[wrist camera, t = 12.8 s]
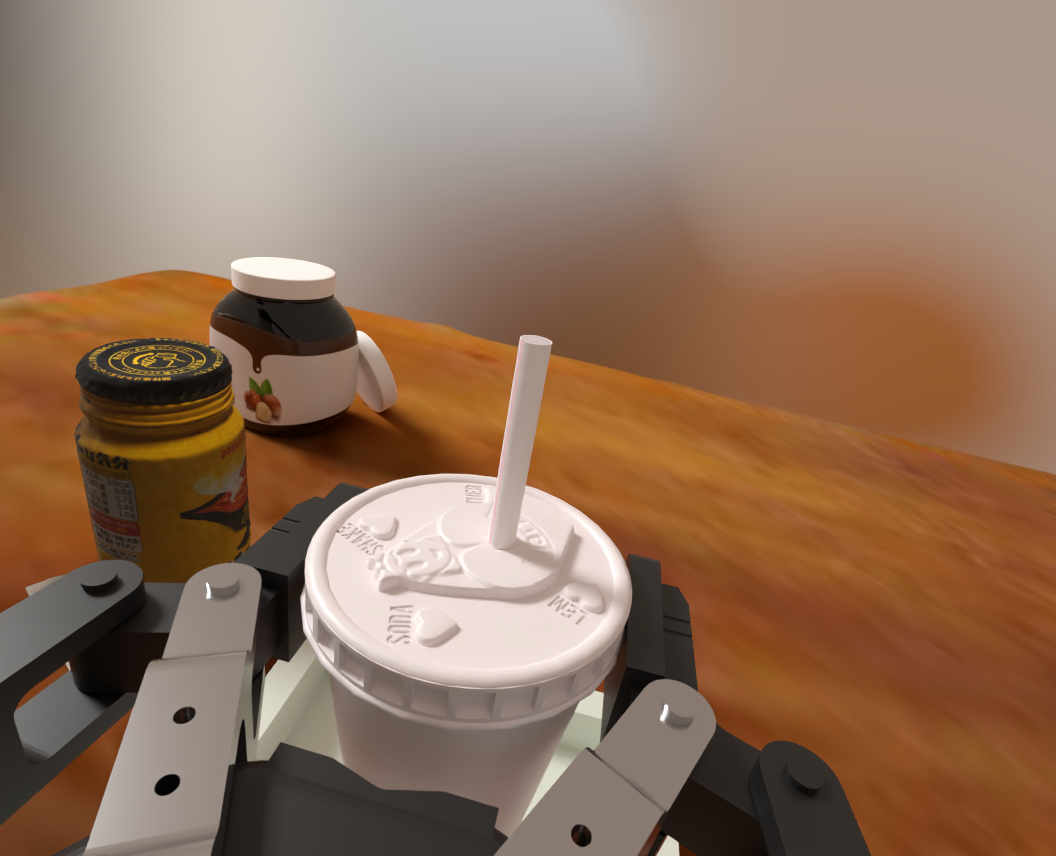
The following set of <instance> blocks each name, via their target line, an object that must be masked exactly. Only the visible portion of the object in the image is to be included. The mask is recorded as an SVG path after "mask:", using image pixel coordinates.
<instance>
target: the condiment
mask: <svg viewBox="0 0 1056 856" xmlns="http://www.w3.org/2000/svg"><path fill="white" fill-rule="evenodd" d="M75 378H76V379H77V380H78V382H79V386H80V392H81V393H80V400H79V405H80V409H81V411H82V412H83V413H84V414H85V415H84V417H83V418H82V419H81V421H80V422H79V424H78V425H77V427H76V432H75V439H76V445H77V453H78V457H79V461H80V466H81V472H82V477H83V481H84V487H85V492H86V497H87V501H88V507H89V512H90V517H91V522H92V528H93V532H94V537H95V542H96V547H97V552H98V557H99V561H105V560H124V561H129V562H132V563H134V564H136V565H138V566H139V567H140V568H141V570H142V572H143V578H144V583H187V582H188V580H189V579H190V578H191V577H192V576H194V575H195V574H196V573H198V572H200V571H201V570H203V569H206V568H208V567H211V566H214V565H218V564H223V563H234V562H235V561H236V560H237V559H238V558H239V557H240V556H241V555H242V554H244V553H245V552H246V551H247V550H248V549H249V548H250V547H251V544H250V541H251V530H250V519H249V515H250V514H249V508H248V506H249V505H248V486H247V464H246V447H245V442H246V436H245V427H244V419H243V416H242V415H241V413H240V412H239V410H238V409H237V408H236V407H235V406H234V405H233V404H234V402H235V395H234V393H233V389H232V383H231V382H232V365H231V364H230V363H229V360H228V358H227V357H226V355H224V354H223V353H222V352H220V351H219V350H218V349H216V348H215V347H214V346H209V345H206V344H203V343H199V342H196V341H189V340H179V339H171V338H150V339H130V340H122V341H118V342H113V343H108V344H105V345H103V346H100V347H98V348H95V349H93V350H92V351H91V352H89V353H87V354H86V355H85V356H84V357H83V358H82V359H81V360H80V361H79V363H78V364H77V366H76V375H75ZM65 575H67V574H65ZM65 575H61V576H57V577H53V578H50V579H48V580H45V581H43V582H40V583H37V584H34V585H31V586H28V587H25V588H26V590H27V592H28V594H29V596H31V595H33V594H34V593H36V592H38V591H39V590H41V589H43V588H45V587H46V586H48V585H50V584H51V583H53V582H55V581H56V580H58V579H60V578H61V577H63V576H65ZM66 665H67V667H68V669H69V671H70V670H71V669H70V665H69V661H68V662H67V663H66Z"/></svg>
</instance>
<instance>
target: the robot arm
mask: <svg viewBox="0 0 1056 856" xmlns="http://www.w3.org/2000/svg"><path fill="white" fill-rule="evenodd" d="M367 490H369V489H366V488H362V487H358V486H354V485H350V484H346V483H340V484H338V485H337V486H336V487H335V488H334V489H333V490H332V491H331V492H330V493H329V494H328V495H327V496H326V497H325V498H324V499H323V498H319V497H313V498H311V499H309V500H307V501H304V502H302V503H300V504H298V505H296V506H295V507H294V508H293V509H292V510H290V511H289V512H288V513H287V514H286V515H285V516H284V517H283V519H282V520H280V521H278V522H277V523H276V524H275V525H274V526H273V527H272V530H269V531H268V532H266V533H265V534H264V535H263V536H262V537H261V538H260V539H259V540H258V541H257V542H256V543H254V544H253V545H252V546H251V547H250V548H249V549H248V550H247V551H246V552H245V553H244V554H242V555H241V556H240V557H239V558H238V559H237V560H236V561H235V562H234V563H223V564H218V565H214V566H211V567H208V568H206V569H203V570H201V571H200V572H198V573H196V574H195V575H194V576H192V577H191V578H190V579H189V580H188V582H187V583H144V578H143V572H142V570H141V568H140V567H139V566H138V565H136V564H134V563H132V562H129V561H124V560H105V561H99V562H94V563H91V564H88V565H85V566H82V567H80V568H77V569H75V570H74V571H72V572H70V573H68V574H67V575H65V576H63V577H61V578H60V579H58V580H56V581H55V582H53V583H51V584H50V585H48V586H46V587H45V588H43V589H41V590H39V591H38V592H36V593H34V594H33V595H31V596H29V597H28V598H26V599H24V600H22V601H21V602H19V603H17V604H16V605H14V606H12V607H11V608H9V609H7V610H6V611H4V612H2V613H0V825H1V824H3V823H4V822H5V821H6V820H7V819H8V818H9V817H10V816H12V815H13V814H14V813H15V812H16V811H17V810H18V809H19V808H21V807H22V806H23V805H24V804H25V803H26V802H27V801H28V800H30V799H31V798H32V797H33V796H34V795H35V794H36V793H37V792H39V791H40V790H41V789H42V788H43V787H44V786H45V785H46V784H48V783H49V782H50V781H51V780H52V779H53V778H54V777H55V776H56V775H58V774H59V773H60V772H61V771H62V770H63V769H64V768H65V767H67V766H68V765H69V764H70V763H71V762H72V761H73V760H74V759H76V758H77V757H78V756H79V755H80V754H81V753H82V752H83V751H85V750H86V749H87V748H88V747H89V746H90V745H91V744H92V743H94V742H95V741H96V740H97V739H98V738H99V737H100V736H101V735H102V734H104V733H105V732H106V731H107V730H108V729H109V728H110V727H111V726H113V725H114V724H115V723H116V722H117V721H118V720H119V719H120V718H122V717H123V716H124V715H125V714H126V713H127V712H128V711H129V710H131V709H132V708H133V707H134V708H133V710H132V713H131V716H130V719H129V722H128V725H127V728H126V731H125V734H124V737H123V740H122V743H121V746H120V749H119V752H118V755H117V758H116V761H115V764H114V767H113V770H112V773H111V776H110V779H109V782H108V785H107V788H106V791H105V794H104V797H103V800H102V803H101V806H100V809H99V812H98V815H97V817H96V820H95V823H94V826H93V829H92V832H91V835H89V836H87V837H85V838H84V839H82V840H80V841H78V842H76V843H74V844H72V845H71V846H69V847H67V848H65V849H63V850H61V851H59V852H58V853H56V854H54V855H52V856H657V854H658V852H659V850H660V849H661V847H662V845H663V843H664V841H665V840H666V838H667V836H670V837H671V838H673V839H674V840H676V841H677V842H679V843H680V844H682V845H683V846H685V847H686V848H688V849H689V850H691V851H692V852H694V853H695V854H697V855H698V856H871V854H870V852H869V850H868V847H867V845H866V842H865V840H864V838H863V835H862V833H861V831H860V828H859V826H858V824H857V821H856V819H855V816H854V814H853V812H852V809H851V807H850V805H849V802H848V800H847V798H846V795H845V793H844V790H843V788H842V786H841V784H840V782H839V780H838V778H837V777H836V775H835V774H834V772H833V771H832V770H831V769H830V767H829V766H828V765H827V764H826V763H825V762H824V761H823V760H822V759H821V758H819V757H818V756H817V755H816V754H814V753H813V752H811V751H810V750H808V749H806V748H804V747H803V746H800V745H798V744H795V743H792V742H788V741H774V742H770V743H769V744H767V745H766V746H765V747H764V748H763V749H762V751H759V750H758V749H756V748H754V747H752V746H750V745H749V744H747V743H745V742H743V741H742V740H740V739H738V738H736V737H735V736H733V735H731V734H730V733H728V732H726V731H725V730H724V729H723V728H721V727H720V726H719V725H718V724H717V723H716V719H715V715H714V713H713V710H712V708H711V707H710V705H709V703H708V702H707V701H706V700H705V698H704V697H703V696H702V695H701V694H699V693H698V687H697V678H696V669H695V659H694V650H693V641H692V639H691V638H692V632H691V625H690V613H689V605H688V603H687V601H686V600H685V598H684V596H683V595H682V593H681V592H680V590H679V588H677V587H673V586H670V585H666V584H662V583H661V566H660V561H658V560H654V559H650V558H646V557H642V556H638V555H634V554H629V555H628V557H627V560H626V566H627V568H628V571H629V575H630V579H631V585H632V603H631V608H630V613H629V616H628V619H627V621H626V624H625V634H624V641H623V644H622V647H621V650H620V653H619V655H618V658H617V661H616V664H615V667H614V668H613V669H612V670H611V671H610V673H609V674H608V675H607V676H606V677H605V684H604V697H603V709H602V722H601V735H600V744H599V745H598V746H597V747H596V748H595V749H594V750H592V749H590V748H589V747H587V748H585V749H584V750H582V751H581V752H580V753H579V754H578V756H577V757H576V758H575V759H574V760H573V761H572V763H571V764H570V765H569V766H568V767H567V769H566V770H565V771H564V772H563V773H562V775H561V776H560V777H559V778H558V779H557V781H556V782H555V783H554V784H553V785H552V787H551V788H550V789H549V790H548V791H547V793H546V794H545V795H544V796H543V797H542V799H541V800H540V801H539V802H538V803H537V804H536V806H535V807H534V808H533V809H532V810H531V812H530V813H529V814H528V815H527V816H526V818H525V819H524V820H523V821H522V822H521V824H520V825H519V826H518V827H517V828H516V830H515V831H514V832H513V833H512V834H511V836H510V837H507V836H506V835H505V834H503V833H502V832H500V831H499V830H497V829H496V828H495V824H496V819H497V815H498V811H499V808H497V807H494V806H490V805H487V804H484V803H481V802H477V801H474V800H471V799H467V798H464V797H461V796H457V795H454V794H451V793H447V792H444V791H415V790H386V789H381V788H378V787H377V786H375V785H373V784H372V783H370V782H369V781H367V780H366V779H364V778H363V777H361V776H360V775H358V774H357V773H355V772H354V771H352V770H350V769H349V768H347V767H346V766H344V765H343V764H341V763H340V762H338V761H337V760H335V759H334V758H332V757H328V756H325V755H322V754H319V753H315V752H312V751H309V750H305V749H302V748H299V747H295V746H292V745H289V744H285V743H282V742H280V743H279V745H278V747H277V748H276V750H275V751H274V753H273V754H272V756H271V757H270V759H269V760H258V761H256V755H257V745H258V737H259V728H260V719H261V710H262V702H263V693H264V684H265V664H266V663H267V662H268V660H269V659H270V658H271V657H272V658H275V659H279V660H282V661H286V662H290V660H291V659H292V658H293V656H294V655H295V654H296V652H297V651H298V650H299V648H300V647H301V646H302V644H303V643H304V642H305V640H306V639H307V637H306V636H305V634H304V632H303V622H302V612H301V601H300V597H301V593H302V590H303V587H304V584H305V559H306V555H307V551H308V547H309V545H310V543H311V540H312V538H313V536H314V535H315V533H316V531H317V530H318V528H319V527H320V526H321V524H322V523H323V522H324V521H325V520H326V519H327V518H328V517H329V516H330V515H331V514H332V513H333V512H334V511H335V510H336V509H338V508H339V507H340V506H341V505H343V504H344V503H346V502H347V501H349V500H350V499H352V498H353V497H355V496H357V495H359V494H361V493H363V492H365V491H367ZM68 661H69V665H70V669H71V670H70V671H68V672H67V673H66V674H64V675H63V676H62V677H60V678H59V679H58V680H56V681H55V682H53V683H52V684H51V685H49V686H48V687H47V688H45V689H44V690H43V691H41V692H40V693H39V694H37V695H36V696H35V697H33V698H32V699H31V700H29V701H28V702H27V703H25V704H24V705H23V706H21V707H20V708H19V709H17V710H16V711H15V709H16V707H17V705H18V703H19V702H20V700H21V699H22V697H23V696H24V695H25V694H26V693H27V692H28V691H29V690H30V689H31V688H33V687H34V686H35V685H37V684H38V683H40V682H41V681H42V680H44V679H45V678H46V677H48V676H49V675H50V674H52V673H53V672H55V671H56V670H57V669H59V668H60V667H61V666H63V665H64V664H66V663H67V662H68Z"/></svg>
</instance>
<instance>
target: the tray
mask: <svg viewBox="0 0 1056 856" xmlns="http://www.w3.org/2000/svg"><path fill="white" fill-rule="evenodd" d="M603 697H604V693H601V692H598V691H594V692H593V693H592V694H591V695H590V696H588V697H586V698H585V699H583V700H581V701H580V702H579V703H578V706H577V708H576V710H575V712H574V715H573V717H572V719H571V721H570V722H569V724H568V726H567V728H566V730H565V732H564V734H563V736H562V738H561V740H560V742H559V745H558V747H557V749H556V751H555V753H554V755H553V757H552V759H551V761H550V763H549V765H548V767H547V770H546V772H545V774H544V776H543V778H542V780H541V782H540V784H539V786H538V788H537V790H536V793H535V795H534V797H533V799H532V801H531V803H530V805H529V807H528V809H527V811H526V813H525V815H524V818H523V820H524V819H525V818H526V816H527V815H528V814H529V813H530V812H531V810H532V809H533V808H534V807H535V806H536V804H537V803H538V802H539V801H540V800H541V799H542V797H543V796H544V795H545V794H546V793H547V791H548V790H549V789H550V788H551V787H552V785H553V784H554V783H555V782H556V781H557V779H558V778H559V777H560V776H561V775H562V773H563V772H564V771H565V770H566V769H567V767H568V766H569V765H570V764H571V763H572V761H573V760H574V759H575V758H576V757H577V756H578V754H579V753H580V752H581V751H582V750H584V749H585V748H587V747H589V748H590V749H592V750H594V749H595V748H596V747H597V746H598V745H599V744H600V735H601V722H602V709H603ZM280 742H282V743H285V744H289V745H292V746H295V747H299V748H302V749H305V750H309V751H312V752H315V753H319V754H322V755H325V756H328V757H332V758H334V759H335V760H337V761H338V762H340V763H341V764H343V761H342V754H341V748H340V741H339V735H338V729H337V722H336V716H335V710H334V703H333V697H332V693H331V689H330V681H329V674H328V671H326V670H325V669H324V668H323V667H322V666H321V664H320V662H319V660H318V659H317V657H316V655H315V653H314V651H313V649H312V647H311V645H310V643H309V641H308V639H306V640H305V642H304V643H303V644H302V646H301V647H300V648H299V650H298V651H297V652H296V654H295V655H294V656H293V658H292V659H291V660H290V662H286V661H282V660H278V661H277V662H276V664H275V665H274V666H273V667H272V669H271V670H270V671H269V673H268V674H267V675H266V677H265V684H264V693H263V702H262V710H261V719H260V728H259V737H258V745H257V755H256V761H258V760H269V759H270V757H271V756H272V754H273V753H274V751H275V750H276V748H277V747H278V745H279V743H280ZM523 820H522V821H523ZM657 856H679V842H677V841H676V840H674V839H673V838H671V837H670V836H667V838H666V840H665V841H664V843H663V845H662V847H661V849H660V850H659V852H658V854H657Z"/></svg>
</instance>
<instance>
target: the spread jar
mask: <svg viewBox="0 0 1056 856" xmlns="http://www.w3.org/2000/svg"><path fill="white" fill-rule="evenodd" d="M231 273H232V285H233V286H234V290H232V291H231V292H230V293H229V294H227V295H226V296H225V297H224V298H223V299H222V300H221V301H220V302H219V303H218V304H217V305H216V307H215V309H214V311H213V313H212V316H211V320H210V346H214V347H215V348H216V349H218V350H219V351H220V352H222V353H223V354H224V355H226V357H227V358H228V360H229V363H230V364H231V365H232V382H231V383H232V389H233V393H234V395H235V402H234V404H233V405H234V406H235V407H236V408H237V409H238V410H239V412H240V413H241V415H242V416H243V419H244V426H245V427H247V428H249V429H251V430H253V431H256V432H259V433H263V434H268V435H275V436H296V435H304V434H309V433H313V432H316V431H319V430H321V429H323V428H325V427H326V426H328V425H330V424H331V423H333V422H334V421H336V420H337V419H338V418H340V417H341V416H342V415H343V414H344V413H345V412H346V411H347V410H348V409H349V407H350V406H351V404H352V403H353V401H354V398H355V395H356V391H357V393H358V394H359V396H360V397H361V398H362V400H363V401H364V402H365V403H366V404H367V405H368V406H369V407H370V408H371V409H372V410H374V411H375V412H382V411H384V410H386V409H388V408H390V407H392V406H394V405H395V404H396V403H397V388H396V384H395V380H394V378H393V375H392V372H391V370H390V368H389V365H388V363H387V361H386V360H385V358H384V356H383V354H382V353H381V351H380V350H379V348H378V347H377V345H376V344H375V343H374V342H373V340H372V339H371V338H370V337H369V336H368V335H367V334H365V333H363V332H361V331H356V327H355V325H354V322H353V320H352V318H351V317H350V315H349V314H348V312H347V311H346V309H345V308H344V307H343V306H342V305H341V303H340V302H339V301H338V300H337V299H336V298H335V297H334V293H335V274H336V273H335V272H334V271H333V270H332V269H330V268H328V267H326V266H323V265H320V264H316V263H312V262H307V261H302V260H294V259H286V258H270V257H257V258H245V259H240V260H236V261H234V262H233V263H232V264H231Z"/></svg>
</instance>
